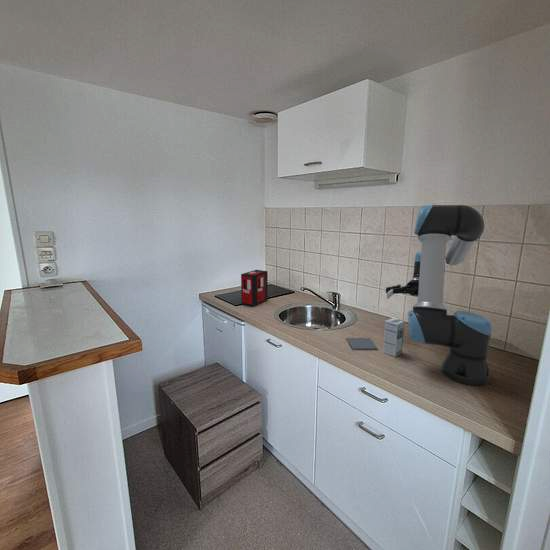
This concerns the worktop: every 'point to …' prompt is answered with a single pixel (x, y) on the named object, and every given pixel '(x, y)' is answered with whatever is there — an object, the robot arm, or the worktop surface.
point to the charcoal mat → (361, 344)
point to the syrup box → (393, 336)
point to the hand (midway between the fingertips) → (403, 298)
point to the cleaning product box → (254, 287)
